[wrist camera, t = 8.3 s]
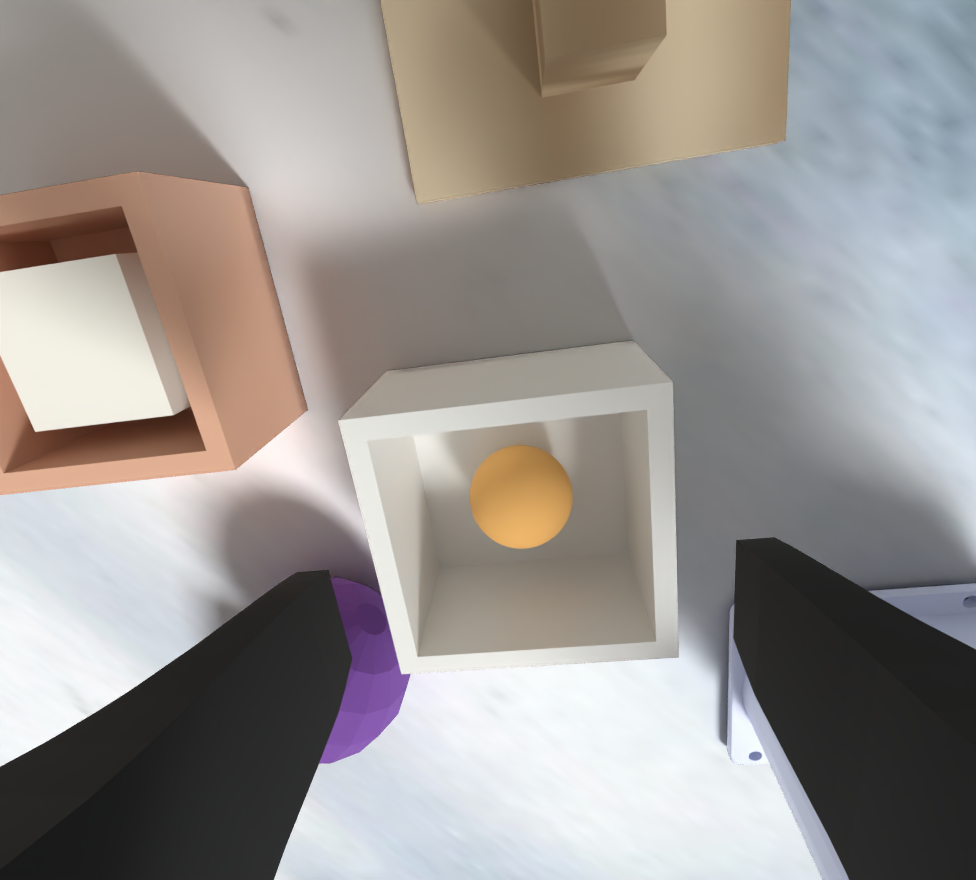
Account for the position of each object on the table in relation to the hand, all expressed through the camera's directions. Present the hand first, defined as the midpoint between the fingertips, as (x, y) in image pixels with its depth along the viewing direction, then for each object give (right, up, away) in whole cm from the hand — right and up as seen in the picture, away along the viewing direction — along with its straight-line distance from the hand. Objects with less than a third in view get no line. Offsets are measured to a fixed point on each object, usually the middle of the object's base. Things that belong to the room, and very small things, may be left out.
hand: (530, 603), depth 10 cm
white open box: (0, +2, +9) cm, 9 cm away
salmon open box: (-11, +7, +8) cm, 15 cm away
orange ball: (0, +1, +7) cm, 7 cm away
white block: (-11, +7, +8) cm, 15 cm away
